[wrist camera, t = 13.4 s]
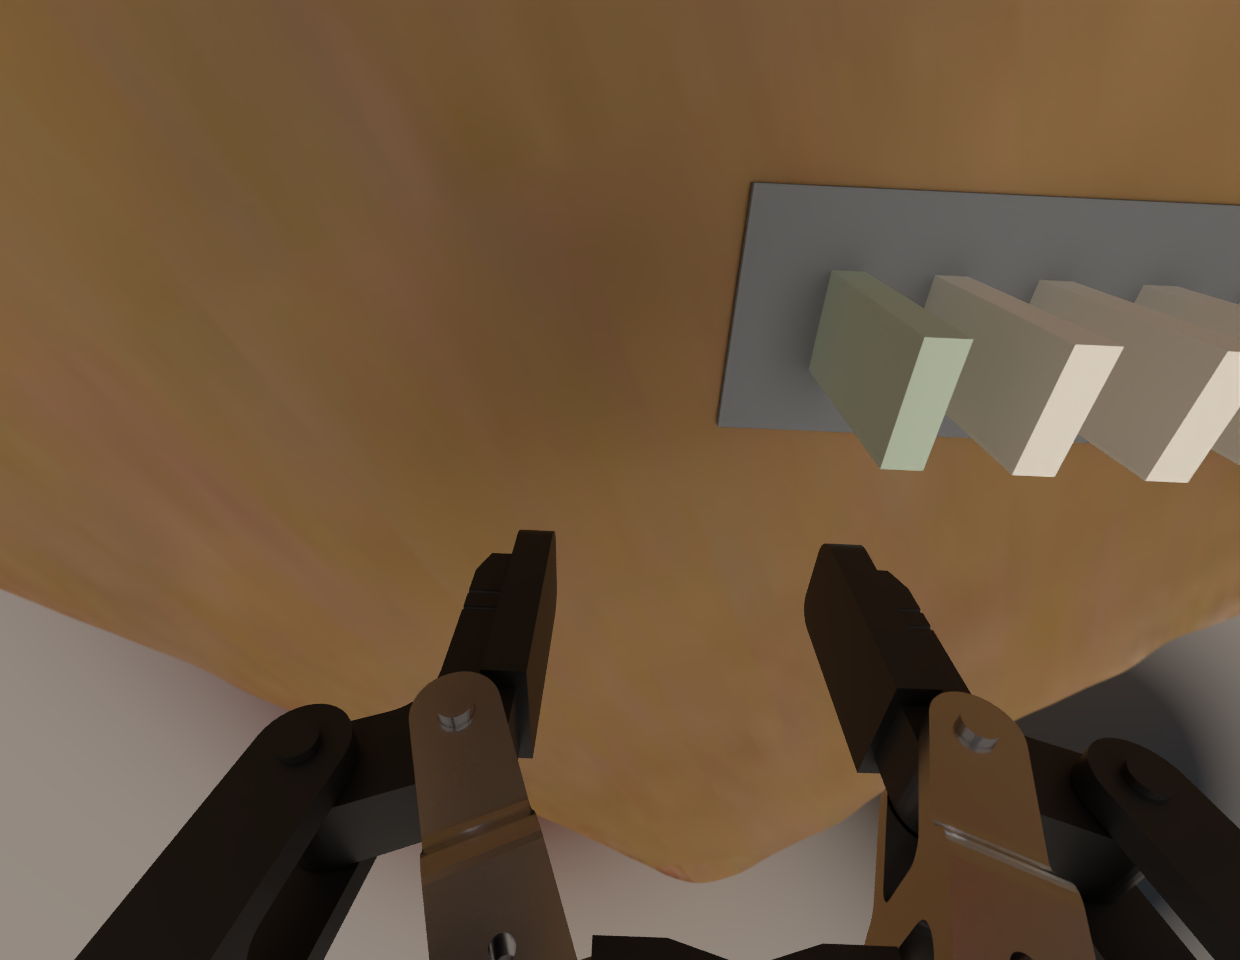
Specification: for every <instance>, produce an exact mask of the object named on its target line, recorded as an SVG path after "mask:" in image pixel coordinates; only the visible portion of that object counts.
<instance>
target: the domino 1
mask: <svg viewBox="0 0 1240 960" xmlns="http://www.w3.org/2000/svg"><path fill="white" fill-rule="evenodd" d="M973 340H974V339H972V338H971V337H969V336H967V335H966V334H964V333H963V332H961V331H959V330H958V329H956V328H955V327H953V326H951V325H950V324H948V323H947V322H945V321H943V320H942V319H940V318H939V317H937V316H936V315H934V314H932V313H931V312H929V311H928V310H926V309H924V308H923V307H921V306H920V305H918V304H916V303H915V302H913V301H912V300H910V299H908V298H907V297H905V296H904V295H902V294H900V293H899V292H897V291H896V290H894V289H892V288H891V287H889V286H888V285H886V284H884V283H883V282H881V281H880V280H878V279H876V278H875V277H873V276H872V275H870V274H868V273H867V272H865V271H844V270H831V275H830V279H829V283H828V288H827V292H826V296H825V301H824V305H823V309H822V314H821V318H820V322H819V327H818V331H817V335H816V340H815V344H814V348H813V353H812V357H811V361H810V366H809V371H810V373H811V374H812V375H813V377H814V378H815V380H816V381H817V382H818V384H819V385H820V387H821V388H822V389H823V391H824V392H825V393H826V395H827V396H828V398H829V399H830V400H831V402H832V403H833V404H834V406H835V407H836V409H837V410H838V411H839V413H840V414H841V416H842V417H843V418H844V420H845V421H846V422H847V424H848V425H849V427H850V428H851V429H852V431H853V432H854V433H855V435H856V436H857V438H858V439H859V440H860V442H861V443H862V445H863V446H864V447H865V449H866V450H867V451H868V453H869V454H870V456H871V457H872V458H873V460H874V461H875V462H876V464H877V465H878V467H879V468H880V469H892V470H915V471H923V470H924V467H925V464H926V462H927V459H928V457H929V454H930V451H931V449H932V446H933V444H934V441H935V439H936V436H937V433H938V431H939V428H940V426H941V423H942V420H943V418H944V415H945V413H946V410H947V407H948V405H949V402H950V400H951V397H952V394H953V392H954V389H955V387H956V384H957V381H958V379H959V376H960V374H961V371H962V368H963V366H964V363H965V361H966V358H967V355H968V353H969V350H970V348H971V345H972V342H973Z"/></svg>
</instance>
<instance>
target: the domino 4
mask: <svg viewBox="0 0 1240 960" xmlns="http://www.w3.org/2000/svg"><path fill="white" fill-rule="evenodd" d="M1134 303H1135V304H1138V305H1141V306H1144V307H1146V308H1149V309H1152V310H1155V311H1158V312H1161V313H1163V314H1166V315H1169V316H1172V317H1175V318H1178V319H1180V320H1183V321H1186V322H1189V323H1192V324H1194V325H1197V326H1200V327H1203V328H1206V329H1209V330H1211V331H1214V332H1217V333H1220V334H1223V335H1226V336H1228V337H1231V338H1234V339H1237V340H1240V305H1239V304H1235V303H1232V302H1229V301H1225V300H1222V299H1218V298H1215V297H1212V296H1208V295H1205V294H1202V293H1198V292H1195V291H1191V290H1188V289H1185V288H1181V287H1178V286H1161V285H1143V287H1142V289H1141V291H1140V293H1139V295H1138V296H1137V298H1136V300H1135V302H1134ZM1211 450H1213V451H1215V452H1217V453H1218V454H1220V455H1222V456H1224V457H1226V458H1227V459H1229V460H1231V461H1233V462H1235V463H1236V464H1238V465H1240V407H1239V409H1238V410H1237V412H1236V413H1235V415H1234V416H1233V418H1232V419H1231V420H1230V422H1229V423H1228V425H1227V426H1226V428H1225V429H1224V431H1223V432H1222V434H1221V435H1220V436H1219V438H1218V439H1217V441H1216V442H1215V444H1214V445H1213V447H1212V448H1211Z"/></svg>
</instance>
